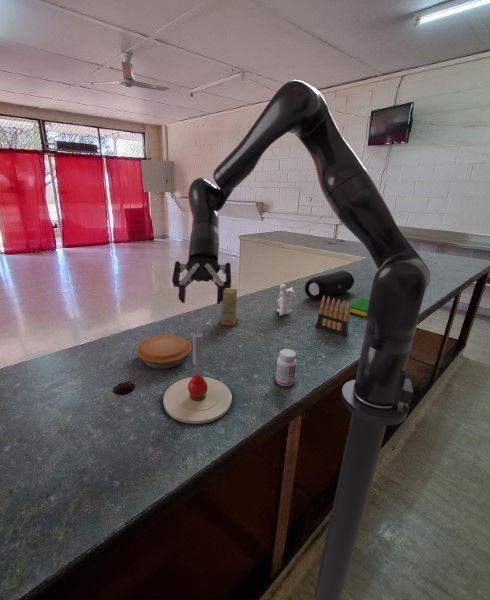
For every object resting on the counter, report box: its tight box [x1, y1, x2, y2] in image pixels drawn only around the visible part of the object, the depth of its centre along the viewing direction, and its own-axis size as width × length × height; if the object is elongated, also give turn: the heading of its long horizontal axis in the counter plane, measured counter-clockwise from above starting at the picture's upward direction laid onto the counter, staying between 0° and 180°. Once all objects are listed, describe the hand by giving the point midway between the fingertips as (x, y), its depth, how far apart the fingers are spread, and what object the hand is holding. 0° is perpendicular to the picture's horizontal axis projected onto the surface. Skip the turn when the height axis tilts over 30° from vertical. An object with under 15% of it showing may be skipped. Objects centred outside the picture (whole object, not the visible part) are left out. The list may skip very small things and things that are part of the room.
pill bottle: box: [275, 348, 297, 387], centre depth 80 cm, size 5×5×8 cm
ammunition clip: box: [315, 295, 351, 336], centre depth 109 cm, size 11×2×12 cm, turn 49°
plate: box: [162, 376, 233, 425], centre depth 74 cm, size 16×16×1 cm
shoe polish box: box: [220, 288, 238, 327], centre depth 113 cm, size 5×5×12 cm
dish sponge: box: [350, 297, 369, 317], centre depth 129 cm, size 7×14×2 cm, turn 137°
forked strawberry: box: [188, 332, 208, 401], centre depth 71 cm, size 5×5×16 cm
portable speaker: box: [304, 270, 355, 301], centre depth 144 cm, size 26×10×10 cm, turn 127°
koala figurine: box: [276, 283, 297, 316], centre depth 123 cm, size 8×7×12 cm
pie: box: [136, 334, 193, 370], centre depth 90 cm, size 15×16×5 cm
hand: (200, 302), depth 75 cm, fingers open, 8 cm apart
